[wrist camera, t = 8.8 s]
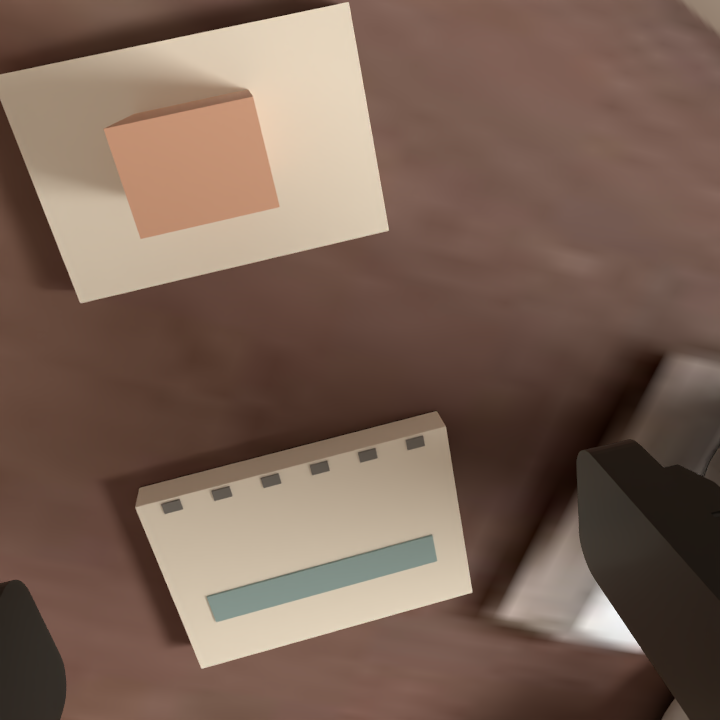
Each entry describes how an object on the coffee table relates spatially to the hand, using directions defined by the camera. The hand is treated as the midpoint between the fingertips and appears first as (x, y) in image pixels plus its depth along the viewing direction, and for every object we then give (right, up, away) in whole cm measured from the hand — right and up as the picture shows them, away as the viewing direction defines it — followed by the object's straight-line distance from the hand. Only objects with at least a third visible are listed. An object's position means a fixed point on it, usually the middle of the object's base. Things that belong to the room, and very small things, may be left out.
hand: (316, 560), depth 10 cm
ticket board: (-2, -6, +23) cm, 24 cm away
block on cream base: (-5, +11, +16) cm, 20 cm away
